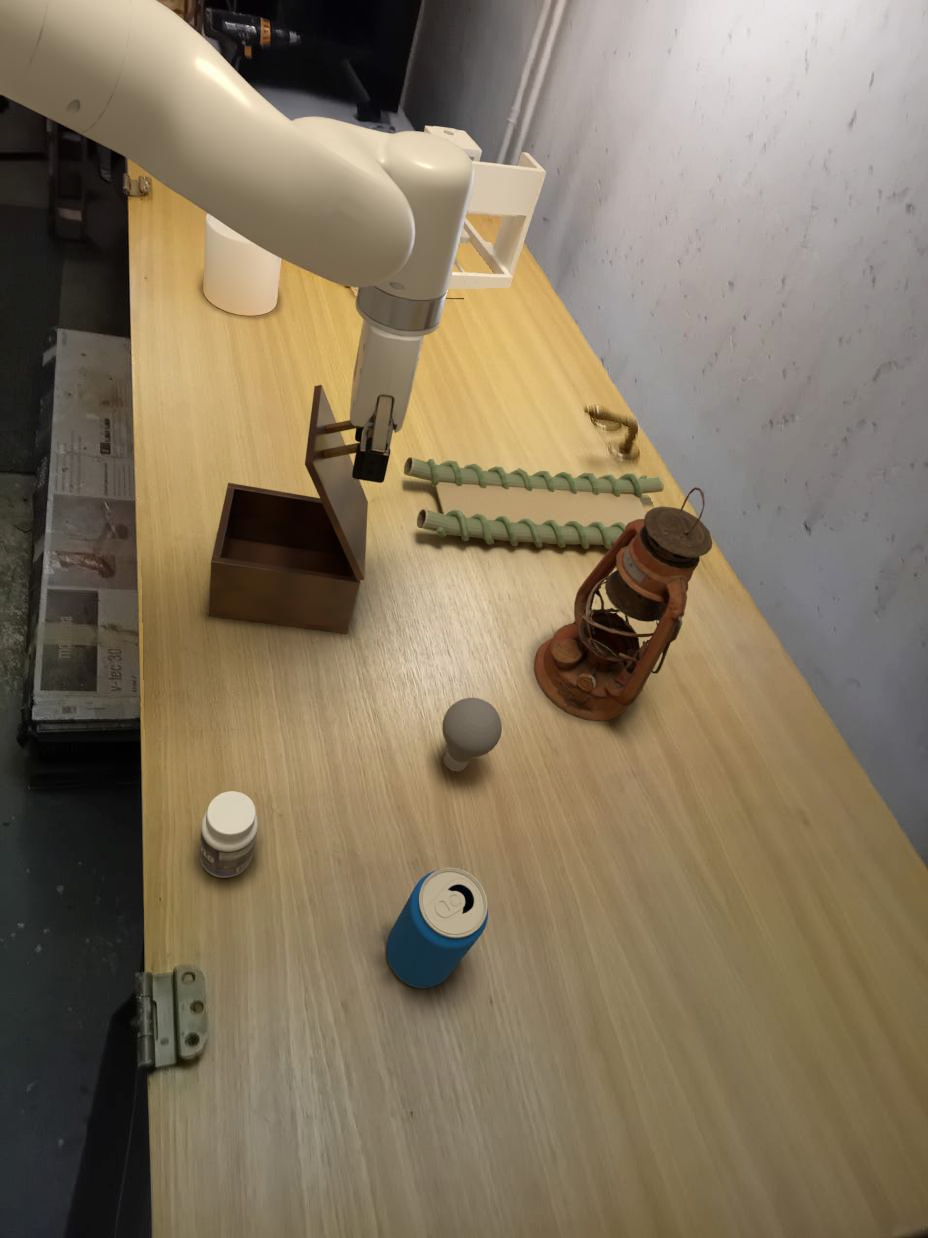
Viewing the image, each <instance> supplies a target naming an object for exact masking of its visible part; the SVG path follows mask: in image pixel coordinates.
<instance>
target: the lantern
mask: <svg viewBox="0 0 928 1238" xmlns="http://www.w3.org/2000/svg"><path fill="white" fill-rule="evenodd" d="M694 491H698V492H699V493H700V496H701V500H702V508H701V511H700V514H699V516H698V517H697V516H695V515H693V514H692V513H690V512H688V511H686V510H685V509H684V507H685V506H686V504H687V501H688V499H689V498H690V495H691V494H692V493H693V492H694ZM705 505H706V503H705V493H704V491H703V490H702V488H700V487H696V486H695V487H694V488H692V489H691V490H690V491H689V492H688V494H687V495H686V497H685V498H684V501H683V503H682V505H681V507H680V508H678V507H672V506H662V505H661V506H655V507H652V508H651V509H650V510H648V511H646V515H645V519H637V520H634V521H632V522H629V523H628V524H627V526H626V528H625V530H624V531H623V533H622V534H621V535H620V537H619V538H618V539H617V540H616V542H615V543H614V544H612V547H611V548H610V549H608V550H607V551H606V553H605V555H604V556H603V557H602V558H601V559H600V561H599V562H598V564H597V565H596V566H595V567H594V568H593V570H592V571H591V572H590V573H589V575H588V576H587V577H586V578H585V580H584V581H583V583H582V584H581V586H580V587H579V588H578V590H577V592H576V594H575V600H574V605H573V615H574V621H573V622H571V623H567V624H564V625H562V626H561V627H560V628H558V629H557V630H556V631H555V633H554V634H553V636H552V637H550V638H549V639H547V640H545V642H543V643H541V645H540V646H539V647H538V649H537V650H536V652H535V655H534V659H533V672H534V676H535V679H536V681H537V685H539V687H540V689H541V691H542V692H543V694H545V696H546V697H547V698H548V699H549V700H550V701H551V702H552V703H553V704H555V706H557V707H558V708H559V709H561V710H562V711H564V712H566V713H568V714H570V715H571V716H574V717H576V718H579V719H583V720H587V721H596V722H597V721H608V720H613V719H615V718H617V717H619V716H621V715H622V714H623V713H625V712H626V710H627V709H628V708H629V707H630V705H632V704H633V703H634V702H635V700H636V699H637V698H638V696H639V695H640V694H641V693H642V692H643V691H644V686H645V685H646V683H647V681H648V679H649V678H650V676H651V674H654V675H657V674H658V673H659V672H660V671H661V669H662V668H663V665H664V662H665V659H666V657H667V653H668V651H669V648H670V647H671V643H673V642H674V641H676V640H677V638H678V636H679V633H680V631H681V628H682V626H683V617H684V616H685V612H686V606H687V601H688V594H687V592H688V591H689V582H690V581H691V579H692V576H693V574H694V571H695V570H696V569H697V567H698V565H699V564H700V558H701V557H702V556H704V555H705V556H706V555H707V554H708V553H709V552H710V551H711V550H712V548H713V540H712V535H711V532H710V530H709V529H708V528H707V526H705V524H704V523H703V522H702V521H701V518H702V516H703V512H704V509H705ZM615 569H616V570H615ZM602 585H604V587H602ZM603 589H604V590H605V595H606V596H607V599H608V601H609V602H610V603H611V605H612V606H613V607H614V608H613V607H610V608H607V609H606V608H605V601H604V599H603V596H602V594H601V592H600V591H601V590H603ZM595 595H596V596H598V597H599V600H600V609H599V608H598V609H595V608H593V604H594V600H595ZM597 600H598V599H596V601H595V604H596V603H597ZM618 613H622V614H623V615H624V618H623V617H622V616H620V615H619V614H618ZM629 618H630V619H633V620H636V621H638V622H645V623H649V622H650V623H651V622H655V621H656V622H655V624H656V627H655V629H654V631H653V632H651V633H649V632H648V633H637V632H636V630H635V628H633V626H632V625H631V624H630V620H629ZM649 637H650V638H649ZM639 638H649V639H646V641H645V640H643V641H642V645H640V639H639ZM597 643H599V644H601V645H603V646H605V647H606V648H607V649H609V651H611V652H612V653H613V654H612V653H610V652H608V651H606V650H604V649H603V648H602V647H600V646H599V645H598V644H597ZM659 659H660V660H659ZM658 661H659V663H658ZM657 663H658V665H657ZM656 665H657V667H656ZM655 667H656V669H655ZM654 669H655V670H654Z"/></svg>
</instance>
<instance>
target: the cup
mask: <svg viewBox="0 0 928 1238" xmlns="http://www.w3.org/2000/svg"><path fill="white" fill-rule="evenodd" d="M203 251H204V254H203V255H204V256H203V280H202V281H203V283H202V284H203V285H202V290H203V291H202V292H203V296H205V299H206V300H208V302H209V303H210V304H212V305H213V306H215V307H216V308H218V309H220V310H222V311H224V312H228V313H230V314H232V315H233V314H234V315H239V316H247V317H249V316H250V317H251V316H252V317H254V316H261V315H265V314H267V313H270V312H271V311H273V310H274V309H275V308H276V306H277V304H278V297H279V296H278V295H279V286H280V276H281V269H282V259H281V258H279V257H277V256H275V255H274V254H272V253H270V252H268V251H266V250H264V249H263V248H261V247H259V246H258V245H256V244H254V243H253V242H251V241H249V240H248V239H246V238H244V237H243V236H241V235H240V234H238V233H237V232H235V231H234V230H232V229H231V228H229V227H228V226H226V225H225V224H223V223H222V222H220V221H219V220H217V219H216V218H214V217H213V216H211V215H210V214H208V213H206V215H205V222H204V250H203Z"/></svg>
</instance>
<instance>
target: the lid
mask: <svg viewBox="0 0 928 1238" xmlns="http://www.w3.org/2000/svg"><path fill="white" fill-rule="evenodd" d="M375 417H376V415H372V416H371V418H374V419H375ZM309 420H310V421H309V428H308V433H307V434H308V435H307V442H306V452H305V460H304V465H305V468H306V470H307V473H308V475H309V477H310V479H311V482H312V483H313V486H314V488H315V490H316V493H317V494H318V498H320V499H321V501H322V503H323V506H324V508H325V510H326V512H327V515H328V517H329V519H330V521H331V523H332V526H333V528H334V530H335V532H336V534H337V537H338V539H339V541H340V543H341V545H342V548H343V550H344V552H345V554H346V557H347V559H348V561H349V563H350V565H351V568H352V570H353V572H354V574H355V576H356V579H357V581H360V582H361V581H365V574H366V555H367V554H366V552H367V532H368V531H367V529H368V507H369V501H368V498H367V496H366V494H365V491H364V488H363V485H362V483H361V480H359V479H354V478H353V477H352V471H353V466H354V462H353V460H352V458H351V455H352V454H356V449H357V444H361V442H355V443H350V444H346V443H345V440H344V438H343V435H342V432H346V431H350V430H356V428H360V427H361V426H357V425H356V426H354V425H353V424H352V423H351V421H350V419H349V420H343V421H338V422H337V421H336V418H335V415H334V412H333V410H332V407H331V404H330V402H329V400H328V397H327V395H326V392H325V390H324V387H323V385H322V384H317V385H314V388H313V396H312V403H311V411H310V418H309ZM373 431H374V429H373V428H369V433H368V438H369V437H373Z"/></svg>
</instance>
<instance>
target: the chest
mask: <svg viewBox="0 0 928 1238" xmlns="http://www.w3.org/2000/svg"><path fill="white" fill-rule="evenodd" d="M218 523H219V524H218V528H217V533H216V537H215V543H214V547H213V551H212V555H211V559H210V560H211V561H210V575H209V591H208V593H209V595H208V597H209V598H208V612H207V613H208V616H209V617H216V618H217V617H218V618H225V619H232V620H233V619H234V620H240V621H246V622H247V621H248V622H254V623H264V624H270V625H277V626H278V625H279V626H284V627H285V626H286V627H292V628H300V629H309V630H315V631H322V632H323V631H324V632H330V633H337V634H338V633H339V634H346V635H347V634H348V633H349V629H350V626H351V625H350V624H351V622H352V618H353V614H354V610H355V606H356V602H357V597H358V593H359V590H360V586H361V581H357V579H356V576H355V574H354V572H353V570H352V568H351V565H350V563H349V561H348V559H347V557H346V554H345V552H344V550H343V548H342V545H341V543H340V541H339V539H338V537H337V534H336V532H335V530H334V528H333V526H332V523H331V521H330V519H329V517H328V515H327V512H326V510H325V508H324V506H323V503H322V501H321V499H320V497H315V496H309V495H304V494H297V493H291V492H286V491H280V490H274V489H268V488H262V487H256V486H250V485H245V484H238V483H234V482H227V487H226V491H225V495H224V499H223V505H222V509H221V514H220V519H219V522H218Z"/></svg>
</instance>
